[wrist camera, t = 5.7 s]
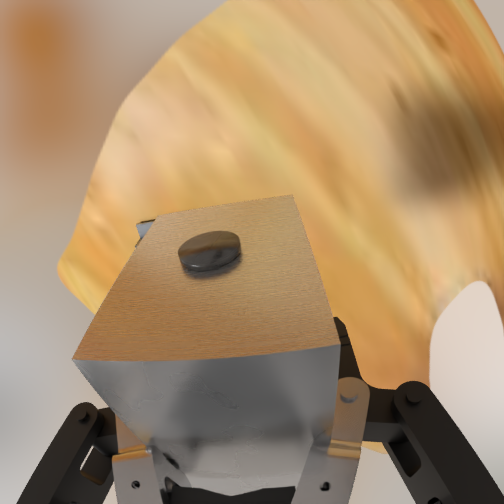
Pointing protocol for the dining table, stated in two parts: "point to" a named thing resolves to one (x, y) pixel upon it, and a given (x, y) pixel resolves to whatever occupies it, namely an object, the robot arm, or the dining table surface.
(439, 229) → the dining table surface
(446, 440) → the robot arm
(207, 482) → the grey metal block
